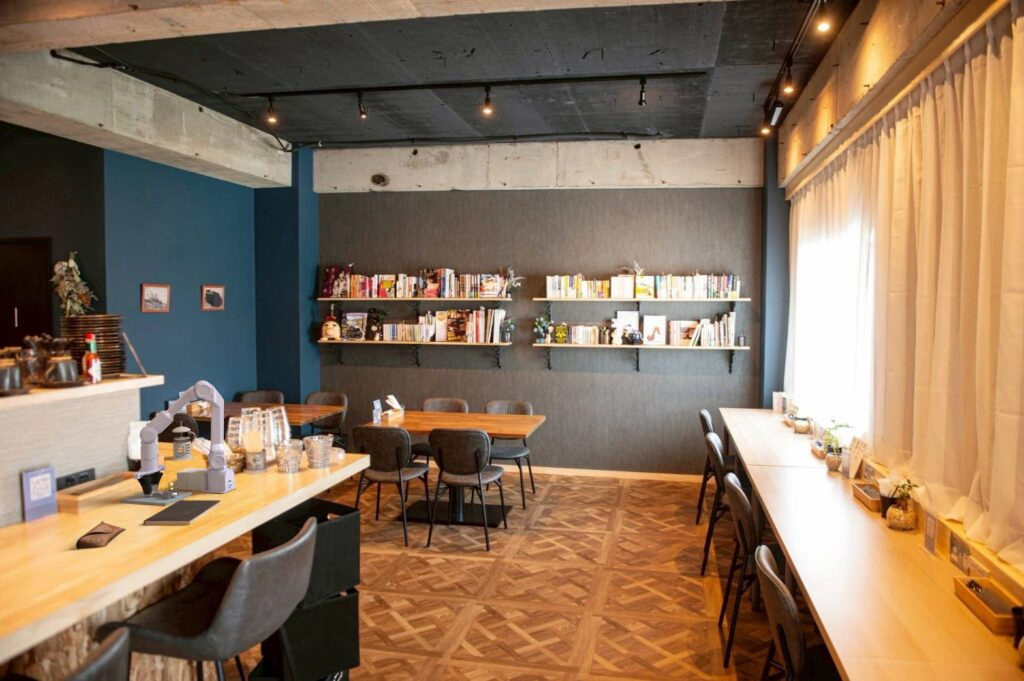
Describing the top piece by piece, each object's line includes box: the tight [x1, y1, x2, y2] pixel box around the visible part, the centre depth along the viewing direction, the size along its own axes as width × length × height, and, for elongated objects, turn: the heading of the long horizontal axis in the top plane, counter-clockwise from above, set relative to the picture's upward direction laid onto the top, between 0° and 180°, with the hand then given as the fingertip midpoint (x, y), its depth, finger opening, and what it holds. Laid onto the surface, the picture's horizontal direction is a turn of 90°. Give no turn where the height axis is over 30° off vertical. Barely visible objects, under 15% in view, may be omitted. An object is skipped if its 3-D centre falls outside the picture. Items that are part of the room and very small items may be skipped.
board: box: [119, 490, 193, 507], centre depth 265 cm, size 20×14×1 cm
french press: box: [170, 407, 197, 462], centre depth 334 cm, size 10×12×25 cm
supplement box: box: [176, 467, 208, 492], centre depth 280 cm, size 7×7×13 cm
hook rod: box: [143, 484, 178, 497], centre depth 265 cm, size 14×3×4 cm, turn 77°
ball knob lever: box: [167, 478, 178, 490], centre depth 266 cm, size 2×6×2 cm, turn 5°
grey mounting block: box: [162, 487, 180, 500], centre depth 264 cm, size 2×6×3 cm, turn 167°
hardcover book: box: [143, 499, 222, 526], centre depth 246 cm, size 16×23×2 cm
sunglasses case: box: [75, 520, 127, 550], centre depth 221 cm, size 18×7×7 cm
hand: (150, 493), depth 266 cm, fingers open, 3 cm apart
